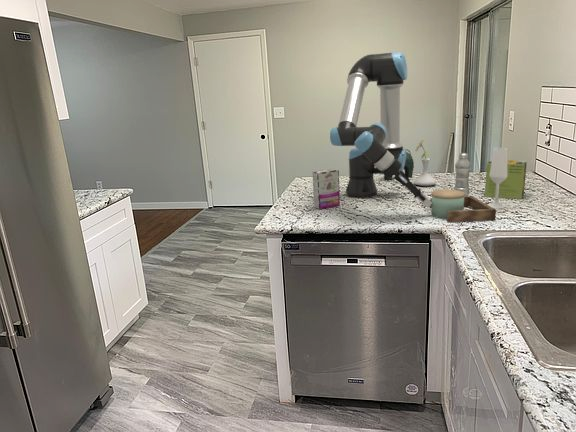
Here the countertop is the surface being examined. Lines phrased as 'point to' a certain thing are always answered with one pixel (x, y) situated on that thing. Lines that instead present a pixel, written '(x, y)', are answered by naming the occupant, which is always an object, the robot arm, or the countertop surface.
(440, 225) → the countertop surface
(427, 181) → the flower in vase
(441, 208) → the green canister
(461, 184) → the plastic bottle
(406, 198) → the countertop surface
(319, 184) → the candy bar box
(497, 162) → the champagne flute
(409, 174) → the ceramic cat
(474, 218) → the walnut bay
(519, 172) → the protein box
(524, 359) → the countertop surface
